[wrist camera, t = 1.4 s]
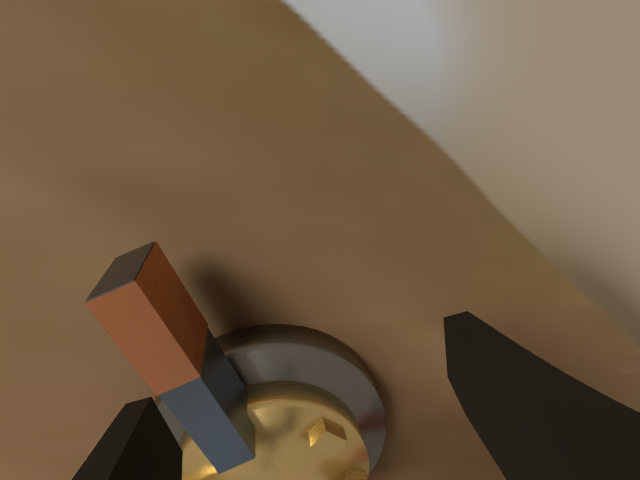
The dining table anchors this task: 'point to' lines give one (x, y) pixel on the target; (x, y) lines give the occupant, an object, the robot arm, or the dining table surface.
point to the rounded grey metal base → (303, 373)
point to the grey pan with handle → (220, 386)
